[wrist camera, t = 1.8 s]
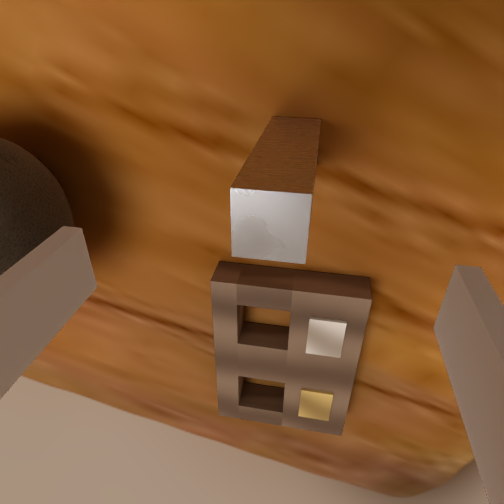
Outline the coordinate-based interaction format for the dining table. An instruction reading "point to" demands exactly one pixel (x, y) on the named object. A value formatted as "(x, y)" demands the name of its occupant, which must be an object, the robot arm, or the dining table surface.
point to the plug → (276, 192)
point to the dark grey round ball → (27, 204)
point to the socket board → (288, 344)
